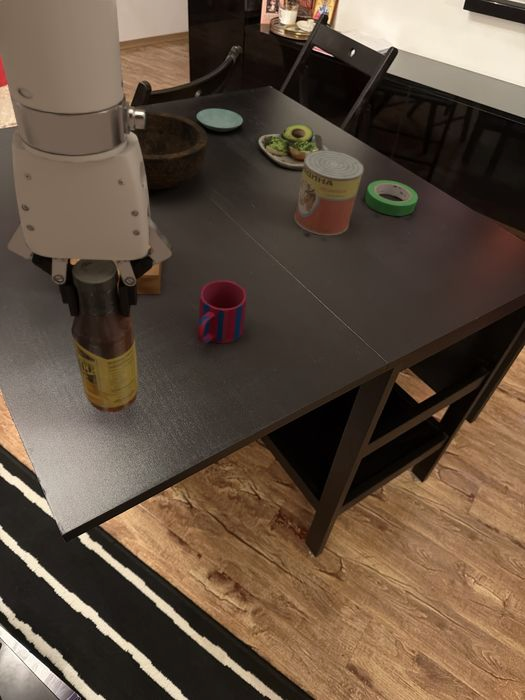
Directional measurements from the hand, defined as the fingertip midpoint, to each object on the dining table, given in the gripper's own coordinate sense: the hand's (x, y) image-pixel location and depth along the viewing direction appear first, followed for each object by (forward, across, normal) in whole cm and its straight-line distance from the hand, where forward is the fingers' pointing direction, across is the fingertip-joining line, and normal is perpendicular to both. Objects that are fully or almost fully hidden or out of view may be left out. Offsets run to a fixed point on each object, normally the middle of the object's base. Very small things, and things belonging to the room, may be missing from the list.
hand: (102, 306), depth 48 cm
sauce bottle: (+15, 0, 0) cm, 15 cm away
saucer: (+18, -17, -90) cm, 93 cm away
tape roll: (+17, -53, -55) cm, 78 cm away
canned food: (+18, -36, -47) cm, 62 cm away
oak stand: (+18, +3, -29) cm, 34 cm away
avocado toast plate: (+18, -35, -77) cm, 86 cm away
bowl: (+18, -2, -60) cm, 63 cm away
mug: (+18, -13, -14) cm, 26 cm away
